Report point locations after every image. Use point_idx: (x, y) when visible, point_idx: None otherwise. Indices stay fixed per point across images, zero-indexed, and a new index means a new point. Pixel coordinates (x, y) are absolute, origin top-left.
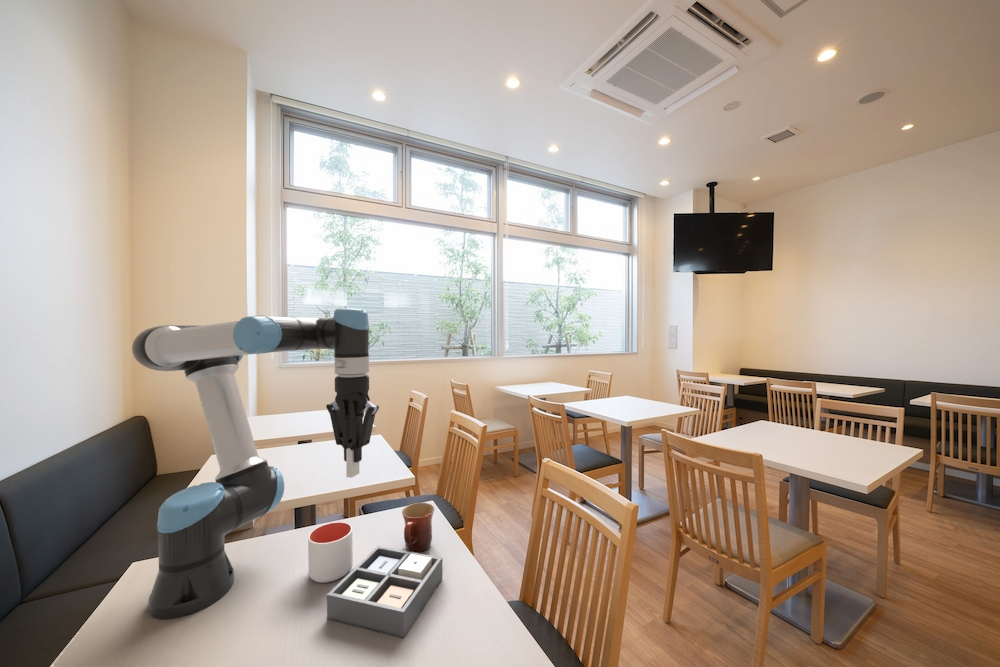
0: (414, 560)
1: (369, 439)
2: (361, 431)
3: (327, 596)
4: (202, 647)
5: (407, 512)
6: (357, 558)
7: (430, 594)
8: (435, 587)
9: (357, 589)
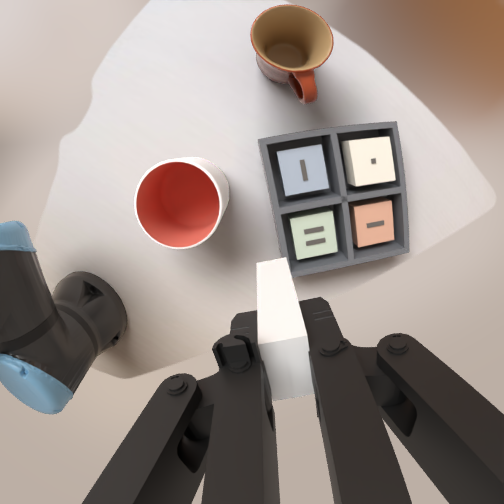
0: (368, 155)
1: (429, 359)
2: (426, 471)
3: None
4: (191, 346)
5: (259, 42)
6: (204, 142)
7: None
8: None
9: (312, 240)
